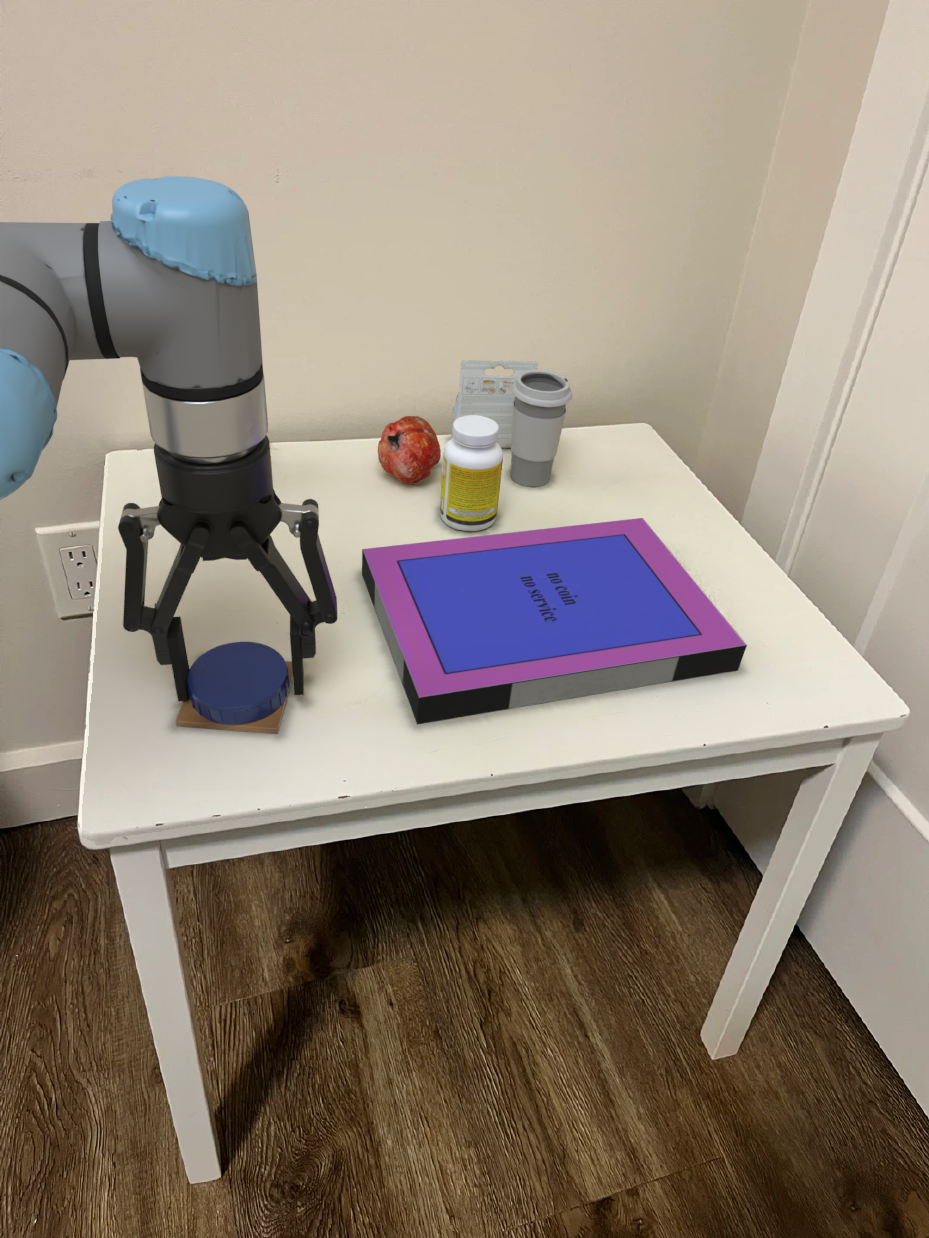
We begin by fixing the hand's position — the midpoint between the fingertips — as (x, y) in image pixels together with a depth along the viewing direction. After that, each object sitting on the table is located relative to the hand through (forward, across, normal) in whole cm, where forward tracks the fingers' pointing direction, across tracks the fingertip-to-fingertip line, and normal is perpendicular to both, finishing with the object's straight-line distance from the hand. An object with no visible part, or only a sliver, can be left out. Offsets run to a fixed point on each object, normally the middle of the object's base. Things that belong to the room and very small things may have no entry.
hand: (242, 686), depth 75 cm
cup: (+2, -31, -35) cm, 47 cm away
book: (+2, -27, -8) cm, 28 cm away
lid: (-1, 0, 0) cm, 1 cm away
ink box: (+2, -28, -43) cm, 51 cm away
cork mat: (+1, 0, 0) cm, 1 cm away
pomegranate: (+1, -17, -36) cm, 39 cm away
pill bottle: (+1, -22, -26) cm, 35 cm away
